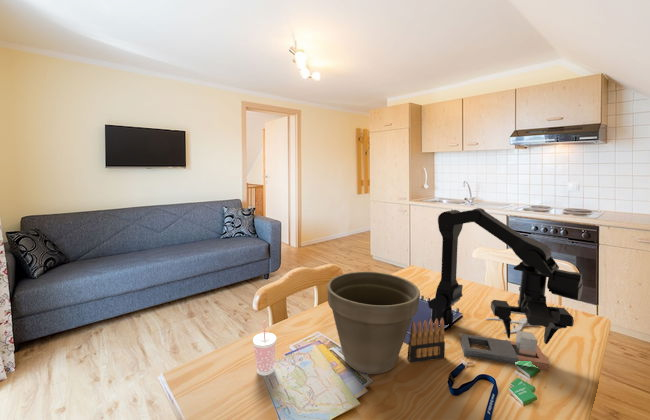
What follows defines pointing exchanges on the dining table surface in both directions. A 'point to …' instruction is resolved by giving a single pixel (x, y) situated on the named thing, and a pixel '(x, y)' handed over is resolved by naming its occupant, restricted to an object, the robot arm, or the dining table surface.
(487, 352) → the grey copper slotted plate
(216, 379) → the dining table surface
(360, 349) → the plant pot
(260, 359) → the beverage cup
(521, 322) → the pliers
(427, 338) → the ammunition clip
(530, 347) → the grey metal block
